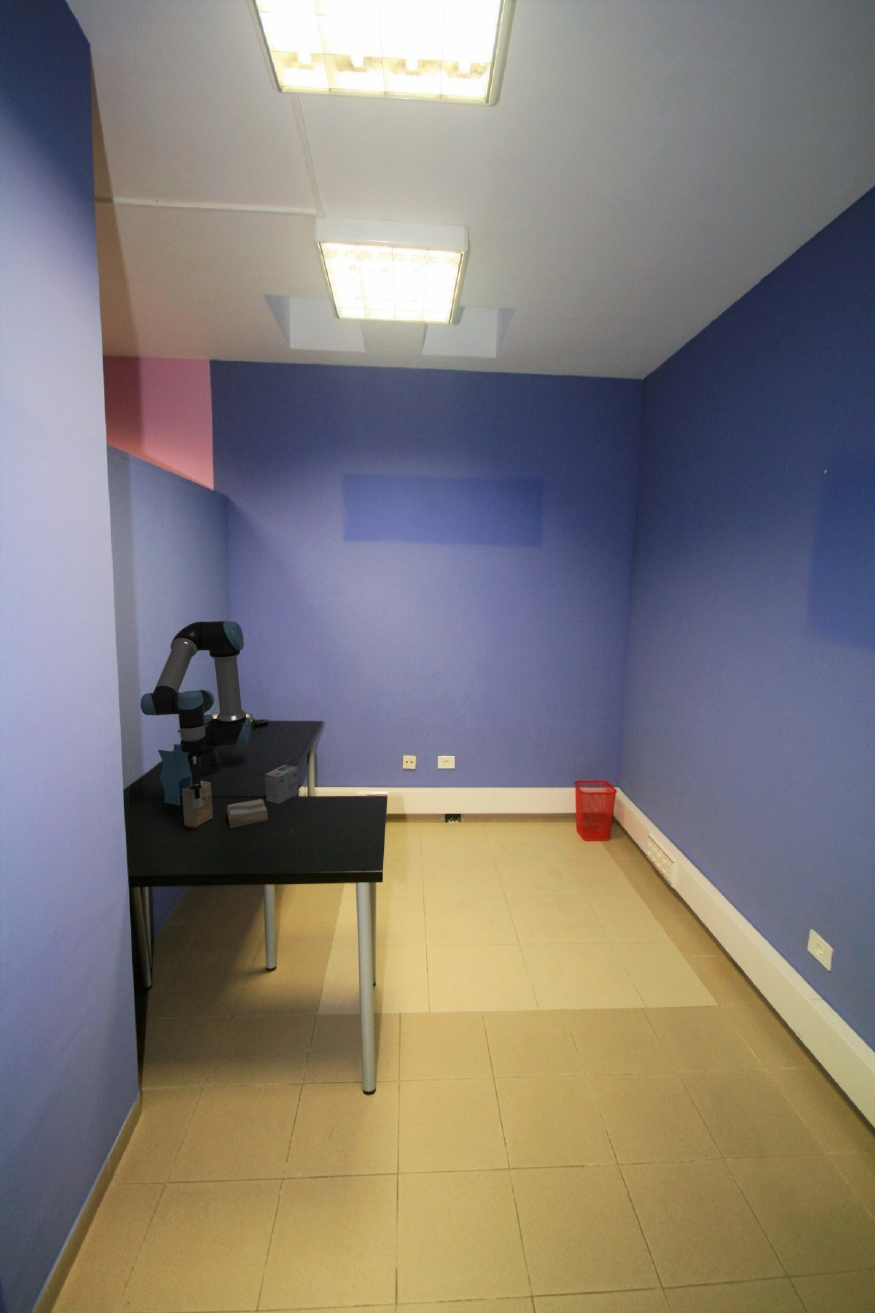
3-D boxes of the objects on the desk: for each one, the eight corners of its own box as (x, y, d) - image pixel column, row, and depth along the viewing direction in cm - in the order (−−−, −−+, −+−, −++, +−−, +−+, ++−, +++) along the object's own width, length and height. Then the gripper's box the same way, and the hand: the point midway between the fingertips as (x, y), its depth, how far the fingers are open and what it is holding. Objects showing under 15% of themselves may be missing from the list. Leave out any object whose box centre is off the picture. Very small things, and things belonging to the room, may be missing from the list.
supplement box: (195, 829, 172) (192, 791, 170) (184, 826, 173) (181, 789, 171) (214, 818, 179) (211, 782, 177) (203, 815, 181) (200, 780, 179)
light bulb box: (285, 790, 202) (284, 764, 201) (299, 793, 199) (298, 766, 198) (265, 801, 193) (264, 773, 191) (279, 804, 190) (278, 776, 188)
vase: (179, 794, 199) (175, 743, 196) (195, 797, 196) (191, 746, 193) (162, 802, 192) (157, 750, 188) (178, 805, 189) (174, 752, 186)
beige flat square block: (227, 815, 181) (226, 804, 180) (263, 808, 186) (262, 798, 186) (230, 827, 172) (229, 816, 172) (267, 820, 178) (267, 809, 177)
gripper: (180, 730, 181) (184, 788, 184) (180, 750, 159) (185, 816, 162) (203, 727, 184) (207, 784, 187) (207, 747, 162) (211, 811, 165)
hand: (197, 799), depth 175 cm, fingers open, 13 cm apart
